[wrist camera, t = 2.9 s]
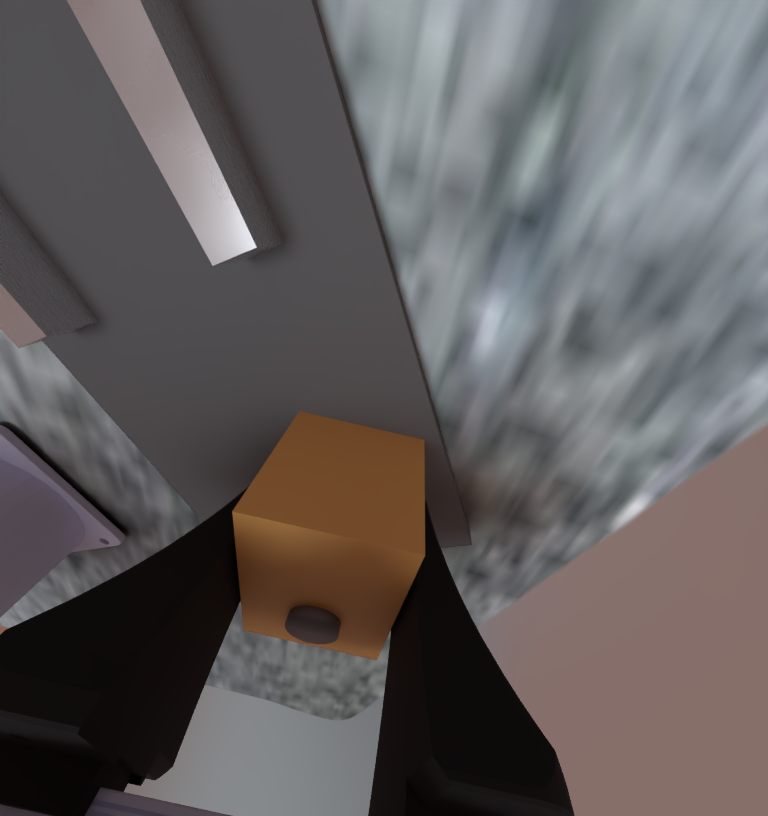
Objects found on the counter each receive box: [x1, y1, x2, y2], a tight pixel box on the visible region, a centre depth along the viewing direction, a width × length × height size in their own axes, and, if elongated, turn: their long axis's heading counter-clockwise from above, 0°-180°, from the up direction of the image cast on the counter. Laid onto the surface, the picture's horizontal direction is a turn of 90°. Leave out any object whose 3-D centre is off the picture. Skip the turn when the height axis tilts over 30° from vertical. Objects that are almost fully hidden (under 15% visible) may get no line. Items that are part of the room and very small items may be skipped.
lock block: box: [232, 411, 425, 660], centre depth 10 cm, size 4×6×5 cm
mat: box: [0, 0, 472, 548], centre depth 9 cm, size 12×27×1 cm, turn 19°
